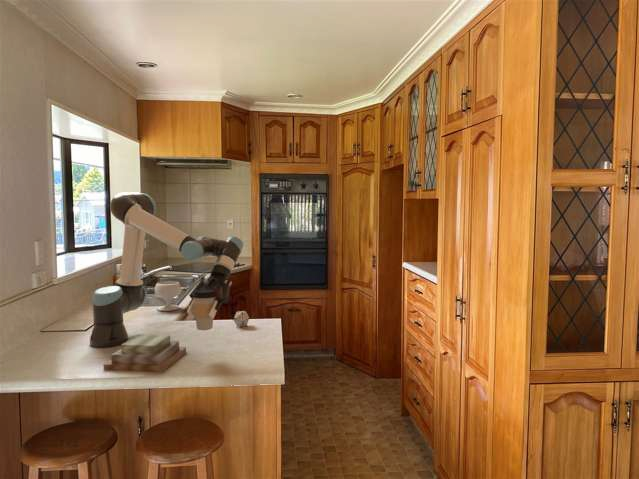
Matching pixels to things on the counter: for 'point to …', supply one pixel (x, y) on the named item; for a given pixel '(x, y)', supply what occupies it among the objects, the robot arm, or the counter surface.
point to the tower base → (146, 366)
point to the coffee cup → (203, 307)
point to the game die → (241, 318)
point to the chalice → (167, 293)
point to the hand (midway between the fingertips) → (199, 315)
